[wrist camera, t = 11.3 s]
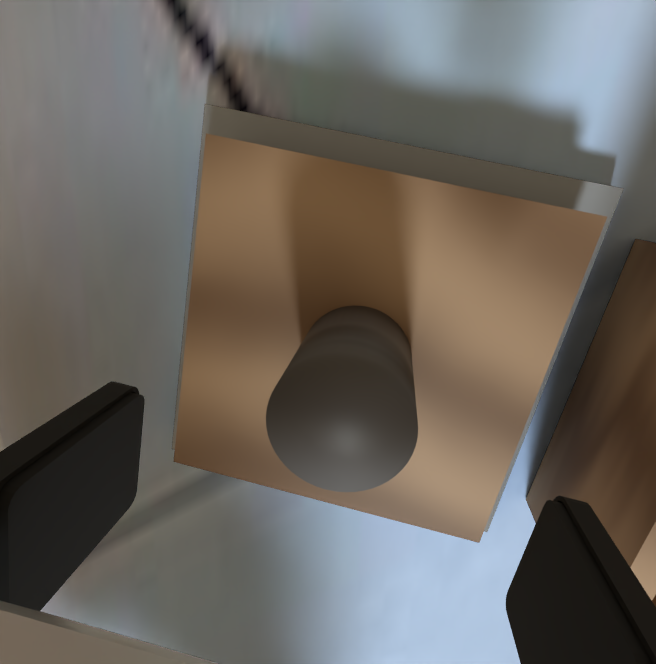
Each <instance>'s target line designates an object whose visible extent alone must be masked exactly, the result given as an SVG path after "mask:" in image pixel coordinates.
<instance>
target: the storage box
mask: <svg viewBox="0 0 656 664" xmlns="http://www.w3.org/2000/svg"><path fill="white" fill-rule="evenodd" d="M557 496H564V497H568V498H571V499H575V500H579V501H583V502H586V503H588V504H589V505H590V506H591V508H592V509H593V511H594V512H595V514H596V515H597V517H598V518H599V520H600V521H601V523H602V525H603V526H604V528H605V529H606V531H607V532H608V534H609V535H610V537H611V539H612V540H613V542H614V543H615V545H616V546H617V548H618V549H619V551H620V552H621V554H622V556H623V557H624V559H625V560H626V562H627V563H628V565H629V566H630V568H631V569H632V571H633V573H634V574H635V576H636V577H637V579H638V580H639V582H640V583H641V585H642V586H643V588H644V590H645V591H646V593H647V594H648V596H649V597H650V599H651V600H652V602H653V604H654V605H655V607H656V243H654V242H649V241H644V240H639V239H635V241H634V244H633V246H632V248H631V251H630V253H629V255H628V258H627V260H626V263H625V265H624V267H623V270H622V272H621V274H620V277H619V279H618V282H617V284H616V286H615V289H614V291H613V293H612V296H611V298H610V301H609V303H608V305H607V308H606V310H605V312H604V315H603V317H602V320H601V322H600V324H599V327H598V329H597V331H596V334H595V336H594V339H593V341H592V343H591V346H590V348H589V350H588V353H587V355H586V358H585V360H584V362H583V365H582V367H581V369H580V372H579V374H578V377H577V379H576V381H575V384H574V386H573V388H572V391H571V393H570V396H569V398H568V400H567V403H566V405H565V407H564V410H563V412H562V415H561V417H560V419H559V422H558V424H557V426H556V429H555V431H554V434H553V436H552V438H551V441H550V443H549V445H548V448H547V450H546V453H545V455H544V457H543V460H542V462H541V464H540V467H539V469H538V472H537V474H536V476H535V479H534V481H533V483H532V486H531V488H530V491H529V493H528V495H527V498H526V501H527V503H528V506H529V508H530V510H531V513H532V515H533V518H534V520H535V523H537V520H538V518H539V515H540V513H541V511H542V508H543V506H544V504H545V502H546V501H547V500H552V501H553V500H554V499H555V498H556V497H557Z"/></svg>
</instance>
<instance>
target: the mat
mask: <svg viewBox="0 0 656 664" xmlns="http://www.w3.org/2000/svg"><path fill="white" fill-rule="evenodd" d="M206 134H211V135H216V136H221V137H226V138H230V139H235V140H240V141H245V142H250V143H255V144H259V145H264V146H269V147H274V148H279V149H284V150H288V151H293V152H298V153H303V154H308V155H312V156H317V157H322V158H327V159H332V160H337V161H341V162H346V163H351V164H356V165H361V166H366V167H370V168H375V169H380V170H385V171H390V172H394V173H399V174H404V175H409V176H414V177H419V178H423V179H428V180H433V181H438V182H443V183H447V184H452V185H457V186H462V187H467V188H472V189H476V190H481V191H486V192H491V193H496V194H501V195H505V196H510V197H515V198H520V199H525V200H529V201H534V202H539V203H544V204H549V205H554V206H558V207H563V208H568V209H573V210H578V211H582V212H587V213H592V214H597V215H602V216H607V219H606V222H605V224H604V227H603V229H602V232H601V234H600V237H599V240H598V242H597V245H596V247H595V250H594V252H593V255H592V257H591V260H590V262H589V265H588V268H587V270H586V273H585V275H584V278H583V280H582V283H581V285H580V288H579V290H578V293H577V295H576V298H575V301H574V303H573V306H572V308H571V311H570V313H569V316H568V318H567V321H566V323H565V326H564V328H563V331H562V334H561V336H560V339H559V341H558V344H557V346H556V349H555V351H554V354H553V356H552V359H551V361H550V364H549V367H548V369H547V372H546V374H545V377H544V379H543V382H542V384H541V387H540V389H539V392H538V394H537V397H536V400H535V402H534V405H533V407H532V410H531V412H530V415H529V417H528V420H527V422H526V425H525V427H524V430H523V433H522V435H521V438H520V440H519V443H518V445H517V448H516V450H515V453H514V455H513V458H512V461H511V463H510V466H509V468H508V471H507V473H506V476H505V478H504V481H503V483H502V486H501V488H500V491H499V494H498V496H497V499H496V501H495V504H494V506H493V509H492V511H491V514H490V516H489V519H488V521H487V524H486V527H485V529H484V531H485V532H487V531H488V529H489V526H490V524H491V521H492V519H493V516H494V514H495V511H496V509H497V506H498V503H499V501H500V498H501V496H502V493H503V491H504V488H505V486H506V483H507V481H508V478H509V476H510V473H511V471H512V468H513V466H514V463H515V461H516V458H517V456H518V453H519V451H520V448H521V446H522V443H523V441H524V438H525V436H526V433H527V431H528V428H529V426H530V423H531V421H532V418H533V415H534V413H535V410H536V408H537V405H538V403H539V400H540V398H541V395H542V393H543V390H544V388H545V385H546V383H547V380H548V378H549V375H550V373H551V370H552V368H553V365H554V363H555V360H556V358H557V355H558V353H559V350H560V348H561V345H562V343H563V340H564V338H565V335H566V333H567V330H568V327H569V325H570V322H571V320H572V317H573V315H574V312H575V310H576V307H577V305H578V302H579V300H580V297H581V295H582V292H583V290H584V287H585V285H586V282H587V280H588V277H589V275H590V272H591V270H592V267H593V265H594V262H595V260H596V257H597V255H598V252H599V250H600V247H601V244H602V242H603V239H604V237H605V234H606V232H607V229H608V227H609V224H610V222H611V219H612V217H613V214H614V212H615V209H616V207H617V204H618V202H619V199H620V197H621V194H622V192H623V188H618V187H613V186H608V185H603V184H598V183H593V182H588V181H583V180H578V179H573V178H568V177H564V176H559V175H554V174H549V173H544V172H539V171H534V170H529V169H524V168H519V167H514V166H509V165H504V164H499V163H494V162H490V161H485V160H480V159H475V158H470V157H465V156H460V155H455V154H450V153H445V152H440V151H435V150H430V149H425V148H420V147H415V146H411V145H406V144H401V143H396V142H391V141H386V140H381V139H376V138H371V137H366V136H361V135H356V134H351V133H346V132H341V131H337V130H332V129H327V128H322V127H317V126H312V125H307V124H302V123H297V122H292V121H287V120H282V119H277V118H272V117H267V116H263V115H258V114H253V113H248V112H243V111H238V110H233V109H228V108H223V107H218V106H213V105H208V104H205V108H204V118H203V129H202V139H201V150H200V160H199V170H198V181H197V191H196V202H195V212H194V223H193V233H192V243H191V254H190V264H189V275H188V285H187V296H186V306H185V316H184V327H183V337H182V348H181V358H180V368H179V379H178V389H177V400H176V410H175V421H174V431H173V441H172V449H174V450H175V443H176V432H177V422H178V412H179V402H180V392H181V382H182V371H183V361H184V351H185V341H186V331H187V321H188V310H189V300H190V290H191V280H192V270H193V260H194V250H195V239H196V229H197V219H198V209H199V199H200V189H201V178H202V168H203V158H204V148H205V138H206Z"/></svg>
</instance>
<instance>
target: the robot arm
mask: <svg viewBox="0 0 656 664" xmlns="http://www.w3.org/2000/svg"><path fill="white" fill-rule="evenodd" d="M143 413H144V397H143V396H142V395H139V391H138V389H137V388H136V387H133V386H129V385H125V384H121V383H117V382H110V383H108V384H106V385H105V386H103V387H102V388H100V389H98V390H97V391H95V392H94V393H92V394H91V395H89V396H87V397H86V398H84V399H83V400H81V401H80V402H78V403H76V404H75V405H73V406H72V407H70V408H69V409H67V410H65V411H64V412H62V413H61V414H59V415H58V416H56V417H54V418H53V419H51V420H50V421H48V422H47V423H45V424H43V425H42V426H40V427H39V428H37V429H36V430H34V431H32V432H31V433H29V434H28V435H26V436H25V437H23V438H21V439H20V440H18V441H17V442H15V443H14V444H12V445H10V446H9V447H7V448H6V449H4V450H3V451H1V452H0V664H219V663H215V662H212V661H208V660H205V659H202V658H198V657H195V656H192V655H188V654H185V653H181V652H178V651H175V650H171V649H168V648H164V647H161V646H157V645H154V644H151V643H147V642H144V641H140V640H137V639H134V638H130V637H127V636H123V635H120V634H117V633H113V632H110V631H106V630H103V629H99V628H96V627H93V626H89V625H86V624H82V623H79V622H76V621H72V620H69V619H65V618H62V617H58V616H55V615H51V614H47V613H44V612H40V610H41V609H42V608H43V607H44V606H45V605H46V603H47V602H48V601H49V600H50V599H51V598H52V596H53V595H54V594H55V593H56V592H57V591H58V590H59V588H60V587H61V586H62V585H63V584H64V583H65V581H66V580H67V579H68V578H69V577H70V576H71V575H72V573H73V572H74V571H75V570H76V569H77V568H78V566H79V565H80V564H81V563H82V562H83V561H84V559H85V558H86V557H87V556H88V555H89V554H90V553H91V551H92V550H93V549H94V548H95V547H96V546H97V544H98V543H99V542H100V541H101V540H102V539H103V537H104V536H105V535H106V534H107V533H108V532H109V531H110V529H111V528H112V527H113V526H114V525H115V524H116V522H117V521H118V520H119V519H120V518H121V517H122V516H123V514H124V513H125V512H126V511H127V510H128V509H129V507H130V506H131V504H132V503H133V501H134V498H135V496H136V492H137V482H138V471H139V459H140V447H141V436H142V424H143ZM506 611H507V615H508V619H509V622H510V626H511V629H512V633H513V637H514V640H515V644H516V648H517V651H518V655H519V659H520V662H521V664H656V607H655V605H654V604H653V602H652V600H651V599H650V597H649V596H648V594H647V593H646V591H645V590H644V588H643V586H642V585H641V583H640V582H639V580H638V579H637V577H636V576H635V574H634V573H633V571H632V569H631V568H630V566H629V565H628V563H627V562H626V560H625V559H624V557H623V556H622V554H621V552H620V551H619V549H618V548H617V546H616V545H615V543H614V542H613V540H612V539H611V537H610V535H609V534H608V532H607V531H606V529H605V528H604V526H603V525H602V523H601V521H600V520H599V518H598V517H597V515H596V514H595V512H594V511H593V509H592V508H591V506H590V505H589V504H588V503H586V502H583V501H579V500H575V499H571V498H568V497H564V496H557V497H556V498H555V499H554V500H553V501H552V500H547V501H546V502H545V504H544V506H543V508H542V511H541V513H540V515H539V518H538V520H537V523H536V525H535V527H534V530H533V532H532V535H531V537H530V539H529V542H528V544H527V547H526V549H525V551H524V554H523V556H522V559H521V561H520V563H519V566H518V568H517V571H516V573H515V575H514V578H513V580H512V583H511V585H510V587H509V590H508V592H507V596H506Z"/></svg>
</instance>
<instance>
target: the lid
mask: <svg viewBox="0 0 656 664" xmlns="http://www.w3.org/2000/svg"><path fill="white" fill-rule="evenodd" d="M606 219H607V216H602V215H597V214H592V213H587V212H582V211H578V210H573V209H568V208H563V207H558V206H554V205H549V204H544V203H539V202H534V201H529V200H525V199H520V198H515V197H510V196H505V195H501V194H496V193H491V192H486V191H481V190H476V189H472V188H467V187H462V186H457V185H452V184H447V183H443V182H438V181H433V180H428V179H423V178H419V177H414V176H409V175H404V174H399V173H394V172H390V171H385V170H380V169H375V168H370V167H366V166H361V165H356V164H351V163H346V162H341V161H337V160H332V159H327V158H322V157H317V156H312V155H308V154H303V153H298V152H293V151H288V150H284V149H279V148H274V147H269V146H264V145H259V144H255V143H250V142H245V141H240V140H235V139H230V138H226V137H221V136H216V135H211V134H206V138H205V148H204V158H203V168H202V178H201V189H200V199H199V209H198V219H197V229H196V239H195V250H194V260H193V270H192V280H191V290H190V300H189V310H188V321H187V331H186V341H185V351H184V361H183V371H182V382H181V392H180V402H179V412H178V422H177V432H176V443H175V453H174V462H177V463H181V464H184V465H188V466H192V467H196V468H199V469H203V470H207V471H211V472H215V473H218V474H222V475H226V476H230V477H233V478H237V479H241V480H245V481H248V482H252V483H256V484H260V485H264V486H267V487H271V488H275V489H279V490H282V491H286V492H290V493H294V494H298V495H301V496H305V497H309V498H313V499H316V500H320V501H324V502H328V503H331V504H335V505H339V506H343V507H347V508H350V509H354V510H358V511H362V512H365V513H369V514H373V515H377V516H381V517H384V518H388V519H392V520H396V521H399V522H403V523H407V524H411V525H415V526H418V527H422V528H426V529H430V530H433V531H437V532H441V533H445V534H448V535H452V536H456V537H460V538H464V539H467V540H471V541H475V542H480V539H481V537H482V534H483V532H484V529H485V527H486V524H487V521H488V519H489V516H490V514H491V511H492V509H493V506H494V504H495V501H496V499H497V496H498V494H499V491H500V488H501V486H502V483H503V481H504V478H505V476H506V473H507V471H508V468H509V466H510V463H511V461H512V458H513V455H514V453H515V450H516V448H517V445H518V443H519V440H520V438H521V435H522V433H523V430H524V427H525V425H526V422H527V420H528V417H529V415H530V412H531V410H532V407H533V405H534V402H535V400H536V397H537V394H538V392H539V389H540V387H541V384H542V382H543V379H544V377H545V374H546V372H547V369H548V367H549V364H550V361H551V359H552V356H553V354H554V351H555V349H556V346H557V344H558V341H559V339H560V336H561V334H562V331H563V328H564V326H565V323H566V321H567V318H568V316H569V313H570V311H571V308H572V306H573V303H574V301H575V298H576V295H577V293H578V290H579V288H580V285H581V283H582V280H583V278H584V275H585V273H586V270H587V268H588V265H589V262H590V260H591V257H592V255H593V252H594V250H595V247H596V245H597V242H598V240H599V237H600V234H601V232H602V229H603V227H604V224H605V222H606Z"/></svg>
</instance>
